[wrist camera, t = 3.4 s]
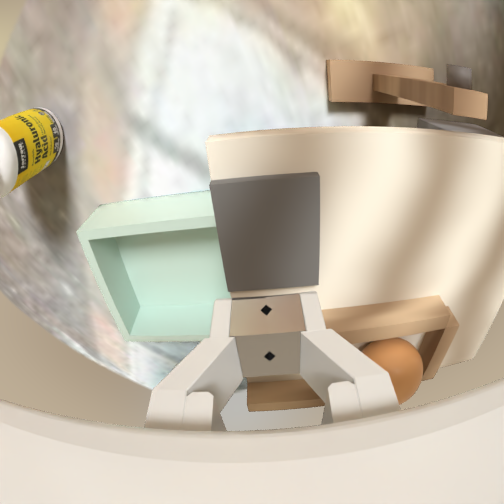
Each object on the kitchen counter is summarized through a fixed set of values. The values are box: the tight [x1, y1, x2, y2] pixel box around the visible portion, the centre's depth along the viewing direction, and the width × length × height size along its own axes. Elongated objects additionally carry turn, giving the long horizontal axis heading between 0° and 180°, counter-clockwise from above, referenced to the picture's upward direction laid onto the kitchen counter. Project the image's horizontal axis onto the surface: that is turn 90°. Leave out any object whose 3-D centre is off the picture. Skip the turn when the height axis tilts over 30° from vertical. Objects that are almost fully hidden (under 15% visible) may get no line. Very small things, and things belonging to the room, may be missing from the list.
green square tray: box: [76, 190, 231, 342], centre depth 25 cm, size 12×12×4 cm
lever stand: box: [326, 60, 488, 120], centre depth 19 cm, size 8×22×11 cm, turn 6°
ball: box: [362, 337, 423, 405], centre depth 15 cm, size 4×4×4 cm
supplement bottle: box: [0, 108, 63, 198], centre depth 17 cm, size 5×5×10 cm
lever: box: [205, 118, 504, 412], centre depth 17 cm, size 17×16×9 cm
